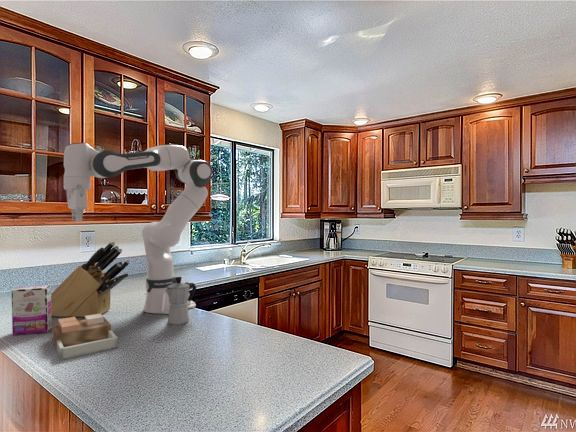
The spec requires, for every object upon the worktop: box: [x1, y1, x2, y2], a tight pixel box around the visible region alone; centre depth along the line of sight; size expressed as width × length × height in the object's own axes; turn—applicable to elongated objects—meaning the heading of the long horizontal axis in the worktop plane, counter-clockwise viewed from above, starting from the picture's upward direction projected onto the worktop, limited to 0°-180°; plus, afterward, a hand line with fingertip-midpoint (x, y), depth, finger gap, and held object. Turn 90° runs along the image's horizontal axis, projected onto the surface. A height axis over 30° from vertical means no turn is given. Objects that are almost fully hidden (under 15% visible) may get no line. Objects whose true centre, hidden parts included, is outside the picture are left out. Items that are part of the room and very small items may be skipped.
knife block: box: [51, 240, 130, 318], centre depth 154 cm, size 11×35×31 cm, turn 89°
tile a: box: [84, 314, 105, 325], centre depth 128 cm, size 5×5×2 cm
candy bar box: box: [11, 285, 53, 336], centre depth 132 cm, size 11×5×16 cm, turn 105°
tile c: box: [60, 320, 80, 333], centre depth 120 cm, size 5×5×2 cm
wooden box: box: [52, 315, 112, 350], centre depth 125 cm, size 16×12×5 cm
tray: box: [56, 329, 119, 361], centre depth 117 cm, size 16×9×3 cm, turn 128°
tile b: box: [57, 316, 78, 328], centre depth 125 cm, size 5×5×2 cm
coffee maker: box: [165, 276, 197, 326], centre depth 146 cm, size 15×9×18 cm, turn 143°
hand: (77, 221), depth 139 cm, fingers open, 8 cm apart
